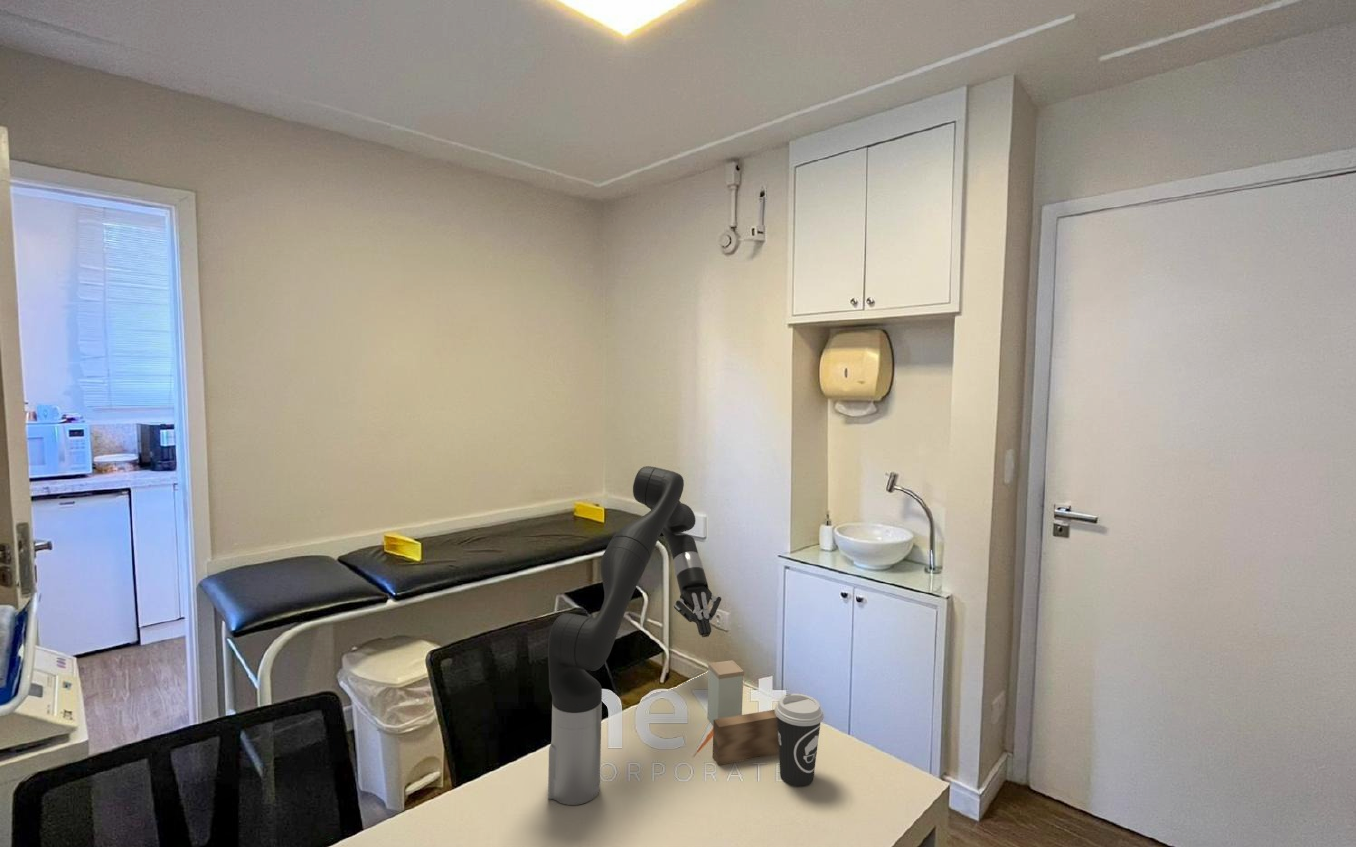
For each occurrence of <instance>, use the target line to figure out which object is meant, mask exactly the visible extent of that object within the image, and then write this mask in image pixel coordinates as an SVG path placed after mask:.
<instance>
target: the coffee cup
mask: <svg viewBox="0 0 1356 847" xmlns="http://www.w3.org/2000/svg"><path fill="white" fill-rule="evenodd" d="M778 699H779V700H778V702H776V705H775V707H774V709H773V710H774V711H775V714H776V716H777V724H778V743H779V754H778V755H779V756H778V758H779V776H780V778H781V780H782V781H783V782H784V783H785V784H787V785H789V786H792V787H797V788H804V787H808V786H810V785H811V784H812V783H813V781H814V777H815V769H816V768H815V767H816V762H817V753H818V746H819V745H818V744H819V736H820V731H821V730H820V729H821V723H822V722H823V720H824V718H825V716H824V711H823V709H822V707H821V705H820V703H819V700H816V699H815V698H814V697H812V696H809V695H806V694H801V693H788V694H783V695H782V696H781V697H780V698H778Z"/></svg>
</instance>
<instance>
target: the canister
mask: <svg viewBox="0 0 1356 847" xmlns="http://www.w3.org/2000/svg"><path fill="white" fill-rule="evenodd" d="M707 668H708V676H707V677H708V678H707V679H708V680H707V706H706V707H707V710H706V712H707V713H706V714H707V715H706V716H707V717H706V718H707V720H708V721H709V722H710V724H711V725H712V726H713V721H714V720H715V719H721V718H727V717H733V716H739V715H743V692H744V677H745V671H744V670H743V669H742V668H741V667H740V666H739V665H738V664H737V663H736V662H735V661H734V660H733V659H732V660H724V661H717V662H708V664H707Z"/></svg>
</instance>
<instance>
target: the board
mask: <svg viewBox="0 0 1356 847" xmlns="http://www.w3.org/2000/svg"><path fill="white" fill-rule="evenodd" d="M774 710H775V709H770V710H764V711H757V712H751V713H747V714H746V713H745V714H742V715H739V716H733V717H727V718H721V719H715V720H714V721H713V725H712V759H713V760H714V762H715V763H716V764H717V766H722V765H728V764H732V763H736V762H743V761H747V760H753V759H757V758H758V759H759V758H763V757H768V756H774V755H779V743H778V724H777V716H776V714H775V711H774Z"/></svg>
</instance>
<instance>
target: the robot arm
mask: <svg viewBox="0 0 1356 847" xmlns="http://www.w3.org/2000/svg"><path fill="white" fill-rule="evenodd" d="M684 485H685V480H684V478H683V476H682V475H681V474H680V473H678V472H675V471H672V470H668V469H664V468H659V467H656V466H650V465H647V466H646V465H645V466H643V467H641V468H640V469H639V470H638V471H637V473H636V475H635V478H634V480H633V485H632V494H633V497H634V499H635V501H636V502H638V503H640V504H642V505H644V506H645V507H647V508H649V509H650V511H649V512H647V513H646V514H645V515H642V516H641V517H639V518H637V519H635V520H633V521H631V522H630V523H627V524H626V525H624V526H622V527H621V528H620V529H618V531H617V532H616V533H615V534H614V535H613V536H612V537H611V540H609V543H608V544H607V546H606V549H605V550H604V552H603V554H602V556H601V559H600V566H599V567H600V577H601V581H602V586H603V592H604V594H603V595H604V599H603V603H602V605H601V608H600V610H599V612H598V614H596V616H595V617H592V616H588V615H587V616H586V615H580V614H574V613H568V612H567V613H563V614H561V615H559V616H557V618H556V619H555V620H554V621H553V624H552V626H551V629H550V631H549V635H548V643H547V645H548V646H547V659H548V663H547V664H548V685H549V691H550V693H551V705H552V706H551V707H552V708H551V742H550V746H549V747H548V748H549V749H548V777H547V778H548V780H547V781H548V784H547V788H548V789H547V799H548V800H555V801H556V802H558V803H560V804H562V805H567V806H579V805H581V804H585V803H588V802H590V801H591V800H593V799H594V798H596V797H597V796H598V794H599V793H600V790H601V762H602V761H601V758H602V756H601V755H602V753H601V751H602V750H601V749H602V712H603V711H602V705H603V689H602V685H601V683H600V682H599V681H598V679H596V678H594V677H593V676H592V675H591V674H590V673H589V672H587V671H590V672H593V671H594V672H595V671H597V670H600V668H602V667H603V666H604V664H605V663H606V662H607V659H608V658H609V656H610V654H611V652H612V649H613V646H614V644H615V641H616V638H617V635H618V633H619V630H620V627H621V624H622V621H623V619H624V616H625V613H626V611H627V607H628V606H629V604H630V601H631V599H632V597H633V594H634V592H635V590H636V588H637V586H638V584H639V581H640V580H641V578H642V575H644V572H645V570H646V568H647V566H648V564H649V561H650V559H651V557H652V555H653V552H654V549H655V547H656V545H657V542H658V540H659V538H660V536H661V535H662V536H664V538H665V540H666V542H667V544H668V546H669V549H670V552H671V553H670V554H671V557H672V559H673V560H672V561H673V569H674V575H675V576H676V577H675V578H676V581H677V585H678V589H679V593H680V596H679V599H678V600H676V602H675V603H674V605H673V608H674V610H676V612H677V613H679V614H680V615H681V616H682V617H683V618H684V619H685V620H686V621H687V622H689V623H695V624H696V628H697V631H698V634H699V636H701V638H708V637H709V636H711V633H712V626H711V622H710V621H712V620H713V618H714V617H715V615H716V613H717V610H718V608H719V605H720V604H721V601H722V598H721V596H715V595H713V593H712V591H711V589H710V588H709V584H708V580H707V577H706V573H705V570H704V566H703V562H702V560H701V556H700V554H699V551H698V547H697V545H696V541H695V538H694V537H693V536H692V535H689V534H682V533H684V532H688V531H690V530H692V529H693V528H694V527H695V525H696V514H695V512H694V511H693V509H692V508H691V507H690V506H689V505H688V504H685V503H683V502H681V497H682V495H683V492H684V487H685V486H684ZM709 604H711V609H710V611H709V607H708V605H709Z"/></svg>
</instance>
